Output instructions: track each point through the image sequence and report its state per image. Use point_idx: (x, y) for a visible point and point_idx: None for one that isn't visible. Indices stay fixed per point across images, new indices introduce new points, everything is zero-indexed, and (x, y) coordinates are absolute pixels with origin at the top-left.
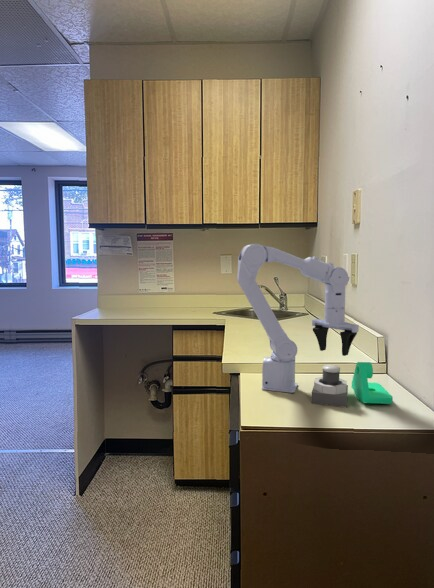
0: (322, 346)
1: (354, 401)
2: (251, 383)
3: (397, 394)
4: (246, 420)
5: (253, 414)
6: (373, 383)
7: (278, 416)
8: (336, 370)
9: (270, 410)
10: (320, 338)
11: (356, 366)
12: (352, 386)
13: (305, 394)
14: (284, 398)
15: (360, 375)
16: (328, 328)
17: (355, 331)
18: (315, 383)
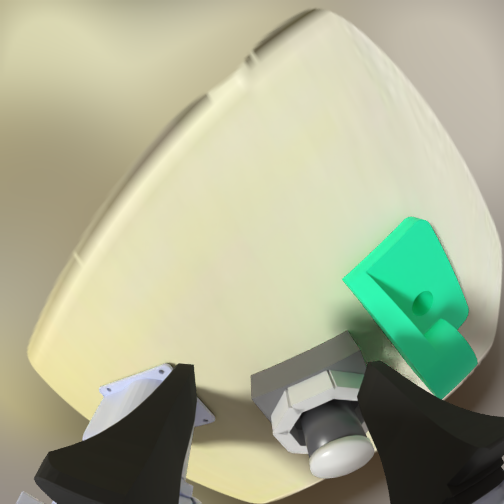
0: (191, 416)
1: (377, 350)
2: None
3: (451, 200)
4: (248, 501)
5: (239, 492)
6: (414, 237)
7: (276, 481)
8: (366, 459)
9: (248, 478)
10: (179, 479)
11: (416, 369)
12: (351, 290)
13: (242, 403)
14: (223, 443)
15: (426, 385)
16: (133, 489)
17: (499, 486)
18: (295, 451)
